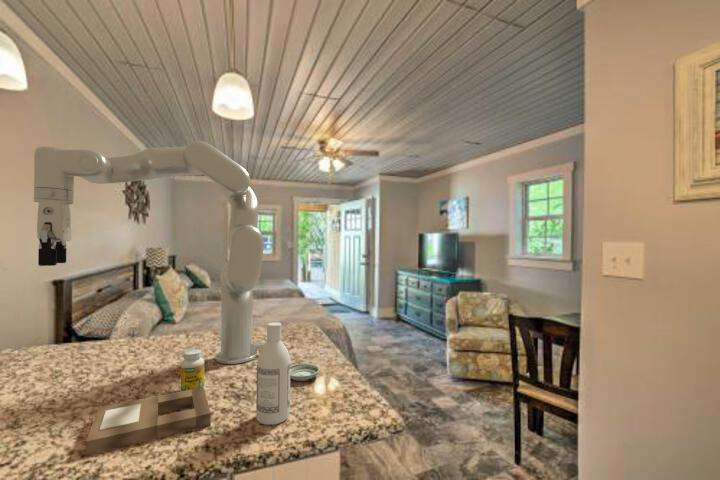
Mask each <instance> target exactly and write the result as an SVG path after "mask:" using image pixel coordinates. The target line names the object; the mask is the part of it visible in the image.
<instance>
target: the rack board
mask: <svg viewBox="0 0 720 480" xmlns="http://www.w3.org/2000/svg"><path fill="white" fill-rule="evenodd" d="M188 408H191V409H188ZM184 409H187V410H184ZM179 410H181V411H179ZM174 411H176V412H174ZM169 412H173V413H169ZM164 413H168V414H164ZM160 414H164V415H160ZM211 415H212V412H211V409H210V405H209V402H208V398H207V395H206V391H205V386H204V387H201V388H196V389H191V390H186V391H181V390H180V391H177V392H171V393H166V394H160V395H156V396H155V395H154V396H150V397H149V396H148V397H145V398H140V399H135V400H129V401H124V402H119V403H113V404H108V405H103V406H102V405H101V406H98V409H97V411H96V413H95V416H94V419H93V422H92V425H91V427H90V429H89V432H88V435H87V437H86V440H85V457H88V456H92V455H96V454H99V453H104V452H107V451H112V450H116V449H120V448H125V447H128V446H132V445H136V444H140V443H145V442H149V441H152V440H153V441H154V440H156V439H161V438H165V437H170V436H174V435H178V434H181V433H186V432H188V431H194V430H198V429H202V428H206V427H210V426H211V425H212V424H211V422H212V421H211V417H212V416H211Z"/></svg>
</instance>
